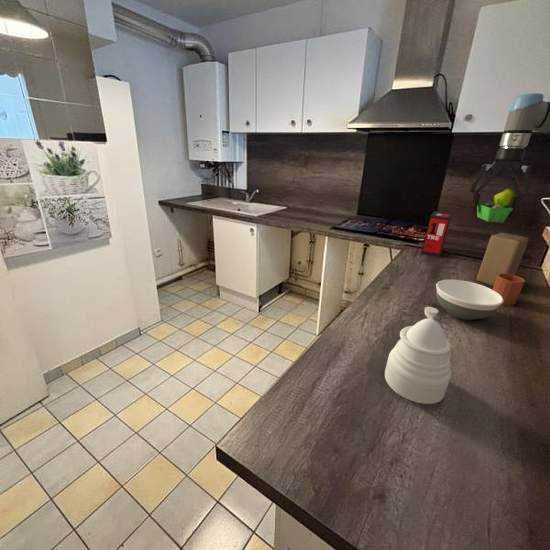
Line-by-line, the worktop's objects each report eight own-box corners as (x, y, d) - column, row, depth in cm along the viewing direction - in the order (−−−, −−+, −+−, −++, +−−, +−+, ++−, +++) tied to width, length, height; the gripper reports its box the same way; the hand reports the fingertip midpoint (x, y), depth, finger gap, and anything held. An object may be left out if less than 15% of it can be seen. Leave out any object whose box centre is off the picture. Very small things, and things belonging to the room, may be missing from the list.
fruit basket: (472, 216, 113) (480, 185, 108) (497, 217, 111) (507, 186, 107) (484, 222, 103) (495, 189, 98) (513, 224, 101) (524, 190, 96)
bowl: (503, 334, 86) (513, 310, 83) (433, 321, 92) (440, 297, 88) (485, 306, 102) (493, 284, 99) (427, 295, 108) (432, 275, 105)
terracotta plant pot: (515, 299, 108) (524, 277, 104) (514, 307, 102) (524, 284, 98) (490, 293, 112) (498, 271, 108) (488, 300, 106) (496, 277, 103)
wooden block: (512, 284, 120) (530, 237, 112) (502, 289, 115) (520, 241, 107) (485, 275, 128) (500, 231, 120) (474, 280, 123) (490, 234, 115)
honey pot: (383, 358, 74) (397, 295, 67) (438, 369, 71) (459, 305, 64) (385, 395, 63) (403, 324, 56) (451, 410, 60) (478, 337, 53)
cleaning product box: (425, 246, 167) (434, 211, 159) (442, 249, 162) (452, 213, 154) (421, 253, 154) (430, 215, 146) (439, 257, 150) (450, 218, 142)
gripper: (471, 147, 101) (454, 211, 110) (557, 148, 89) (530, 220, 97) (474, 147, 107) (457, 208, 116) (556, 148, 94) (530, 217, 103)
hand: (491, 214), depth 106 cm, fingers closed on fruit basket, 10 cm apart
